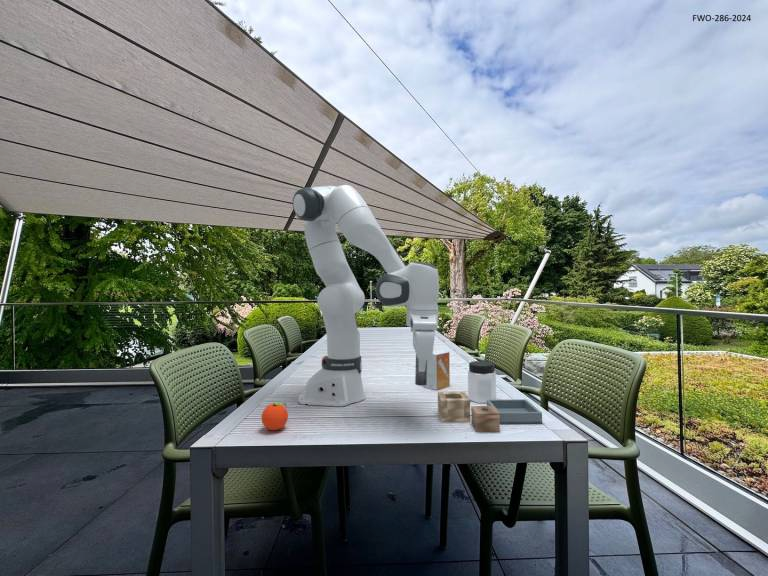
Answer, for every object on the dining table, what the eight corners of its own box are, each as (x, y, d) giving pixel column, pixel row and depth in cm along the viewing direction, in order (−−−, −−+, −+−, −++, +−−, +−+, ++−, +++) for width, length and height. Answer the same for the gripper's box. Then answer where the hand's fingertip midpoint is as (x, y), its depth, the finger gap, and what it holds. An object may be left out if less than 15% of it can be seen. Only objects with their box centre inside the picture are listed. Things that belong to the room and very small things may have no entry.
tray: (497, 424, 102) (497, 413, 102) (486, 409, 114) (486, 399, 114) (542, 423, 102) (542, 412, 102) (526, 409, 114) (526, 399, 114)
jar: (501, 401, 122) (500, 364, 122) (481, 405, 118) (481, 367, 118) (482, 394, 130) (482, 359, 130) (463, 397, 127) (463, 362, 126)
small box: (437, 390, 136) (436, 354, 135) (423, 387, 140) (422, 352, 140) (450, 386, 141) (449, 351, 141) (436, 383, 146) (436, 349, 146)
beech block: (441, 422, 105) (441, 400, 105) (438, 412, 113) (437, 392, 113) (470, 421, 104) (470, 400, 104) (464, 412, 112) (464, 392, 112)
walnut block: (476, 433, 97) (475, 413, 97) (471, 424, 103) (471, 405, 103) (500, 432, 97) (499, 413, 97) (493, 424, 103) (493, 405, 103)
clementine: (278, 421, 107) (277, 397, 107) (296, 426, 103) (296, 400, 103) (255, 431, 100) (255, 405, 100) (274, 436, 96) (274, 409, 96)
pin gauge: (415, 385, 104) (416, 352, 103) (414, 382, 107) (415, 350, 107) (427, 385, 104) (428, 353, 103) (426, 382, 107) (426, 351, 107)
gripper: (408, 315, 115) (407, 360, 116) (413, 323, 95) (411, 378, 95) (429, 316, 115) (428, 361, 115) (438, 324, 95) (436, 378, 95)
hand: (420, 369), depth 105 cm, fingers closed on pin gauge, 3 cm apart
